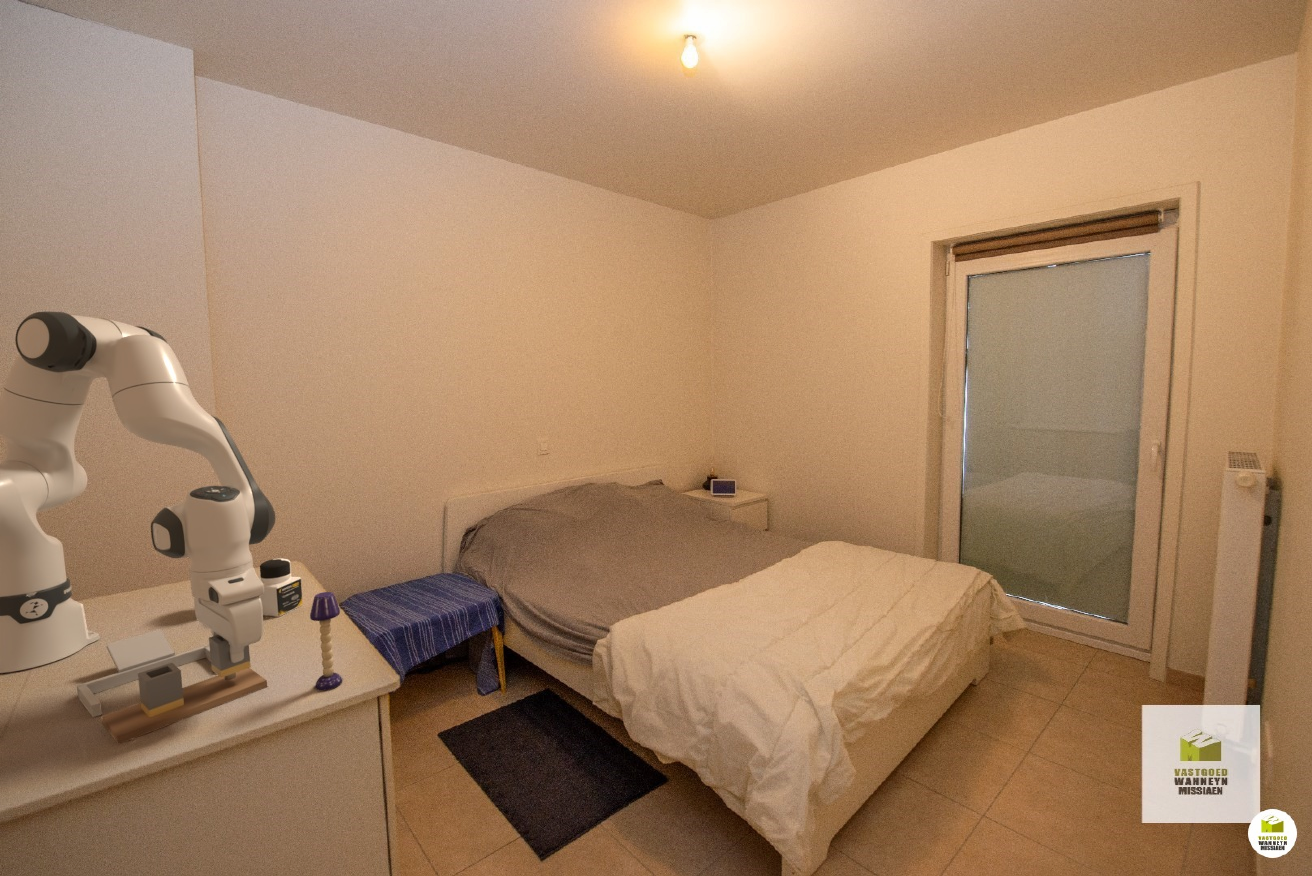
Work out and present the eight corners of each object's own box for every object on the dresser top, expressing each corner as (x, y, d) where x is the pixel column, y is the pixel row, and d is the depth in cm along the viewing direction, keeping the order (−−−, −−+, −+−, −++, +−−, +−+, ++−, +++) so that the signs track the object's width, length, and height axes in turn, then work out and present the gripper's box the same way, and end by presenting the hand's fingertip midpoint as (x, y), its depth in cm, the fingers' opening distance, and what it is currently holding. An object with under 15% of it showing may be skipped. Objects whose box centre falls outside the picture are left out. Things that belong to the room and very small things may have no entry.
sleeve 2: (211, 670, 103) (208, 637, 102) (240, 660, 106) (237, 628, 106) (221, 677, 100) (218, 644, 99) (250, 667, 104) (247, 634, 103)
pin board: (102, 723, 93) (99, 689, 92) (246, 671, 109) (244, 643, 109) (118, 743, 88) (114, 708, 87) (267, 686, 104) (265, 656, 103)
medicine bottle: (278, 617, 134) (275, 566, 132) (252, 614, 135) (248, 564, 134) (303, 605, 141) (300, 557, 139) (278, 603, 142) (274, 555, 141)
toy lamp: (310, 683, 105) (304, 594, 103) (338, 674, 108) (333, 587, 107) (320, 693, 102) (314, 601, 100) (348, 683, 105) (343, 594, 103)
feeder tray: (68, 683, 105) (64, 654, 105) (196, 643, 120) (194, 619, 120) (93, 717, 95) (89, 685, 94) (230, 669, 110) (228, 642, 109)
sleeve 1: (141, 708, 95) (137, 673, 94) (175, 696, 99) (171, 662, 98) (149, 717, 93) (146, 681, 92) (184, 704, 96) (180, 670, 96)
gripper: (180, 573, 105) (187, 646, 106) (224, 598, 93) (231, 680, 95) (221, 564, 110) (228, 634, 111) (268, 586, 98) (274, 664, 100)
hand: (230, 655), depth 103 cm, fingers closed on sleeve 2, 4 cm apart
